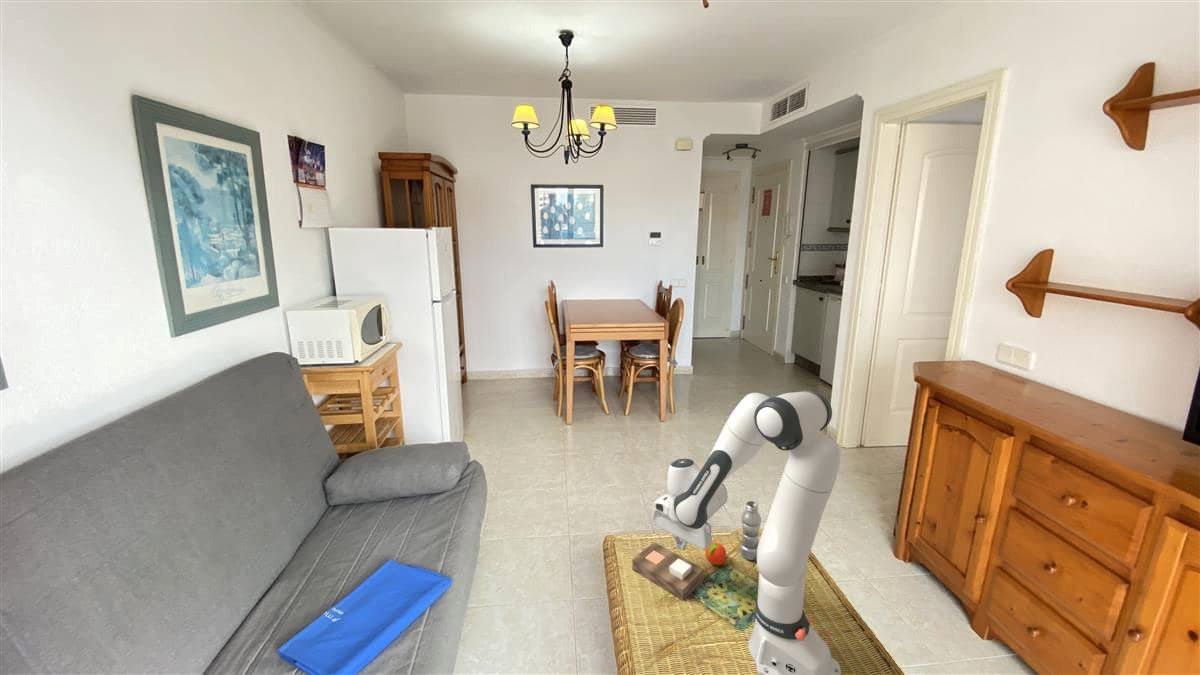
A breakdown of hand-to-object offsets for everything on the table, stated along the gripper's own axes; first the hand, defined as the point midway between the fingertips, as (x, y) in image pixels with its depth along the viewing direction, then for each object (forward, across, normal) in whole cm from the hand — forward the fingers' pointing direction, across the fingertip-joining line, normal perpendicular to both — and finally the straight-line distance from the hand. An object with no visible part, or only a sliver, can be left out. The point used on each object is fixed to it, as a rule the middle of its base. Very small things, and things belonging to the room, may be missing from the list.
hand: (680, 547), depth 150 cm
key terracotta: (+11, +10, 0) cm, 15 cm away
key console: (+13, +5, 0) cm, 13 cm away
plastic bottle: (+13, -11, -26) cm, 31 cm away
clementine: (+13, -4, -15) cm, 20 cm away
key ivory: (+9, 0, 0) cm, 9 cm away
